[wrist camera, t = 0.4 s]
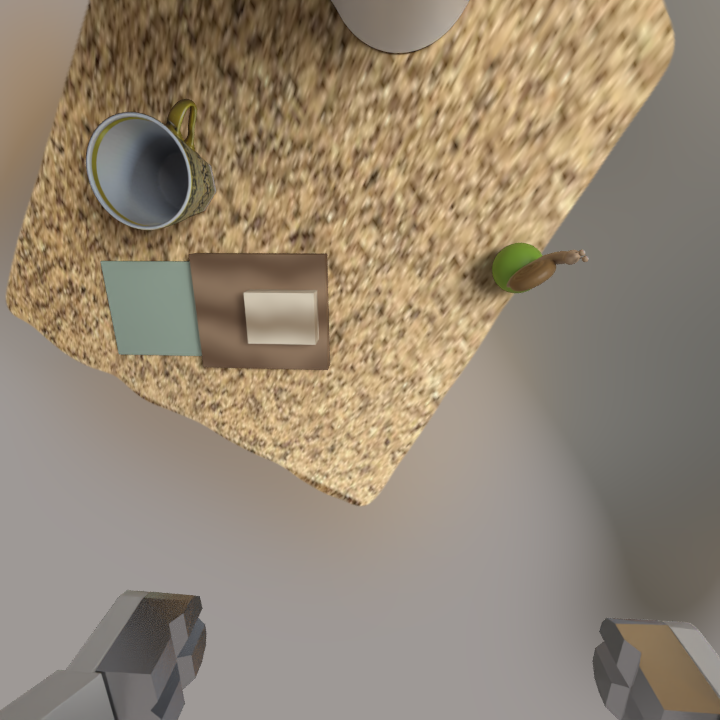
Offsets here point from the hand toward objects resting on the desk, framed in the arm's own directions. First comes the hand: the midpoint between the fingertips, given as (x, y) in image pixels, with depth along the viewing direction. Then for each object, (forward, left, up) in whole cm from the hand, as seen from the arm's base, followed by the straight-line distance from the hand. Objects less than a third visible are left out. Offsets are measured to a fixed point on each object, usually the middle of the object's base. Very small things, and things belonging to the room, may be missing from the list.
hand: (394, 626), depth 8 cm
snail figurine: (-3, +15, -44) cm, 46 cm away
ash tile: (+3, -12, -42) cm, 44 cm away
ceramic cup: (-13, -22, -44) cm, 51 cm away
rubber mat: (+3, -29, -44) cm, 53 cm away
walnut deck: (+3, -15, -44) cm, 46 cm away
